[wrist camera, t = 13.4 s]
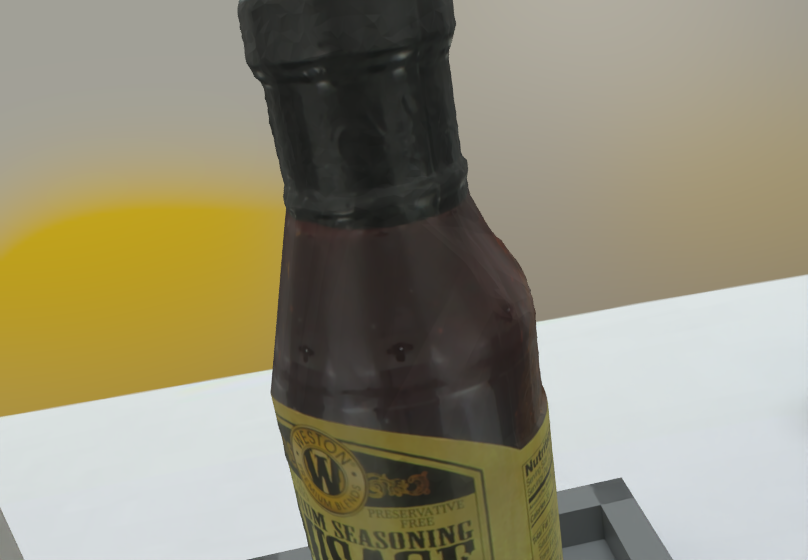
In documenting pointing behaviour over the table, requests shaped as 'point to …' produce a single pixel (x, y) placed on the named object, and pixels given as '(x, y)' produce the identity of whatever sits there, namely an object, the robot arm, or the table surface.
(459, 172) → the sauce bottle
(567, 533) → the tray
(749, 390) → the table surface
